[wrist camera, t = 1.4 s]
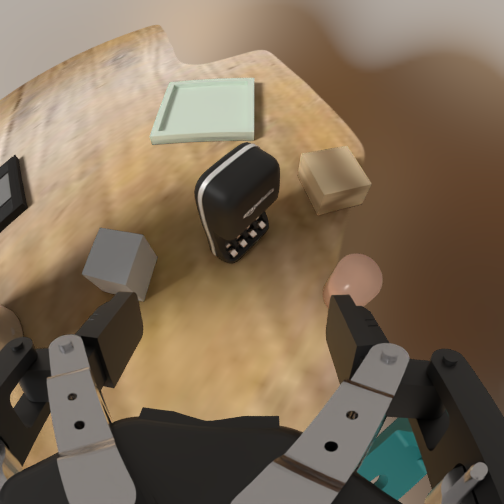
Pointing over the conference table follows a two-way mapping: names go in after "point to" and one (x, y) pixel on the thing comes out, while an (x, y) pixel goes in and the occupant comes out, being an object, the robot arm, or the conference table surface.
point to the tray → (206, 111)
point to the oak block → (333, 179)
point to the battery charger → (237, 200)
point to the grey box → (120, 262)
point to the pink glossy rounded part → (354, 279)
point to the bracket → (394, 460)
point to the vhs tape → (11, 192)
